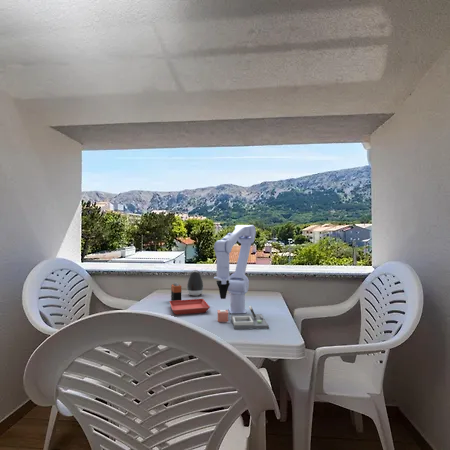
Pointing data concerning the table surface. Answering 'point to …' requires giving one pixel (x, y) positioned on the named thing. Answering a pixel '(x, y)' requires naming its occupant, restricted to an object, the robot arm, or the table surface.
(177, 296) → the battery
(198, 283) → the dark grey egg shape
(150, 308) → the table surface
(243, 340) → the table surface
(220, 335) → the table surface
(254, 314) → the lever
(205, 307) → the plant saucer
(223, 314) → the pink cube
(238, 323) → the panel
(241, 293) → the robot arm
